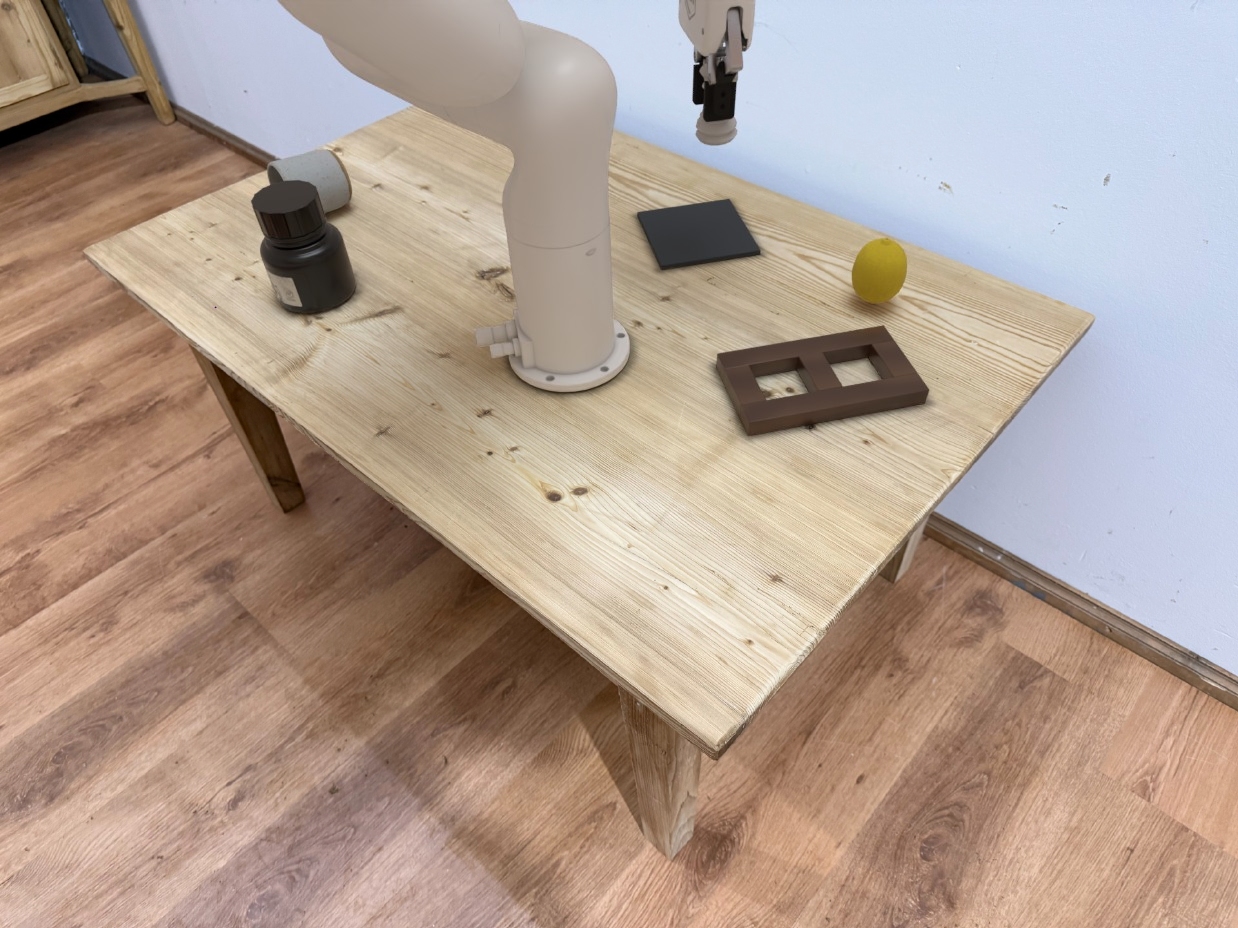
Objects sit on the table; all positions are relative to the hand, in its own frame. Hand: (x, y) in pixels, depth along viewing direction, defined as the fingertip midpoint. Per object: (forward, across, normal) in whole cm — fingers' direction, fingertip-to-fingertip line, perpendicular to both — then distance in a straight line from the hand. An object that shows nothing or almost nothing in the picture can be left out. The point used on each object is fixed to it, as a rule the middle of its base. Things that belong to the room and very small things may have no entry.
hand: (712, 109), depth 88 cm
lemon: (+17, +15, +15) cm, 27 cm away
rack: (+17, +26, +4) cm, 31 cm away
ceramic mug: (+17, -22, -46) cm, 54 cm away
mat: (+17, -3, 0) cm, 17 cm away
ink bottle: (+17, -3, -45) cm, 48 cm away
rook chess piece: (+3, 0, 0) cm, 3 cm away
